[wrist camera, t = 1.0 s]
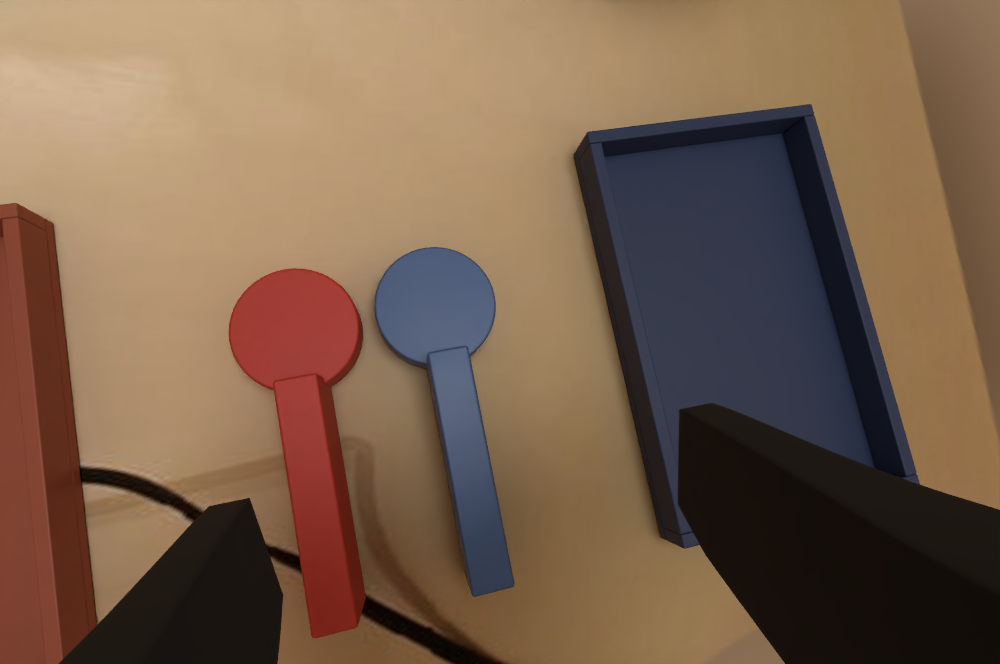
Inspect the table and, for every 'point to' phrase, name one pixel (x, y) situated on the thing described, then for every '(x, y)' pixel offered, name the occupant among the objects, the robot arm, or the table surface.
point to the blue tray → (736, 289)
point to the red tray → (38, 457)
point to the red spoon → (309, 424)
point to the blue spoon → (451, 389)
